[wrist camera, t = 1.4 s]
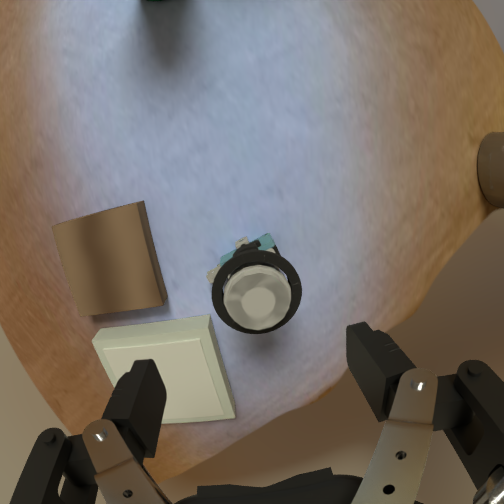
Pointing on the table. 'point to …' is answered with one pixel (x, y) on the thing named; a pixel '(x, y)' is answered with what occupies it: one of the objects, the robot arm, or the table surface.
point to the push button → (255, 287)
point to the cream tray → (174, 365)
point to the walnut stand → (111, 261)
